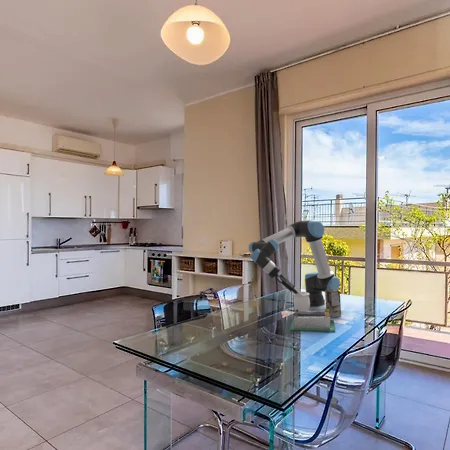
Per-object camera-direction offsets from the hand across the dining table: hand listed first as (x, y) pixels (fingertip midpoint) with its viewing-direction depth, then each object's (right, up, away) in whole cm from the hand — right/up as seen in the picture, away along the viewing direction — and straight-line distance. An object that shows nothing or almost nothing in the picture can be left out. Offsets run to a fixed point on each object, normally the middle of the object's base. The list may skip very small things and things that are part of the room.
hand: (301, 296), depth 209 cm
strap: (+6, -10, -1) cm, 12 cm away
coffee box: (+25, -16, +18) cm, 35 cm away
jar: (+5, -17, +21) cm, 28 cm away
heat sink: (+7, -17, -1) cm, 19 cm away
